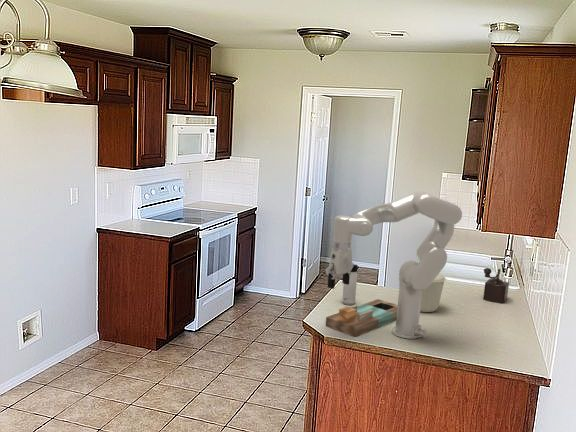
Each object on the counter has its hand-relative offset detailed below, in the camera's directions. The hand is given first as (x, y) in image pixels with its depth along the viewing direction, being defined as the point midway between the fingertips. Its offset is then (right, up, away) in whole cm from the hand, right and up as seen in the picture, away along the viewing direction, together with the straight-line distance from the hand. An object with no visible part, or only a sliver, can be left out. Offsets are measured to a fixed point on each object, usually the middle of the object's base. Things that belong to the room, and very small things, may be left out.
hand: (338, 285), depth 237 cm
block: (+4, -16, +8) cm, 18 cm away
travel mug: (+9, -14, +43) cm, 46 cm away
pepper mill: (+86, -15, +60) cm, 106 cm away
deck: (+15, -18, +21) cm, 31 cm away
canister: (+45, -16, +41) cm, 63 cm away
